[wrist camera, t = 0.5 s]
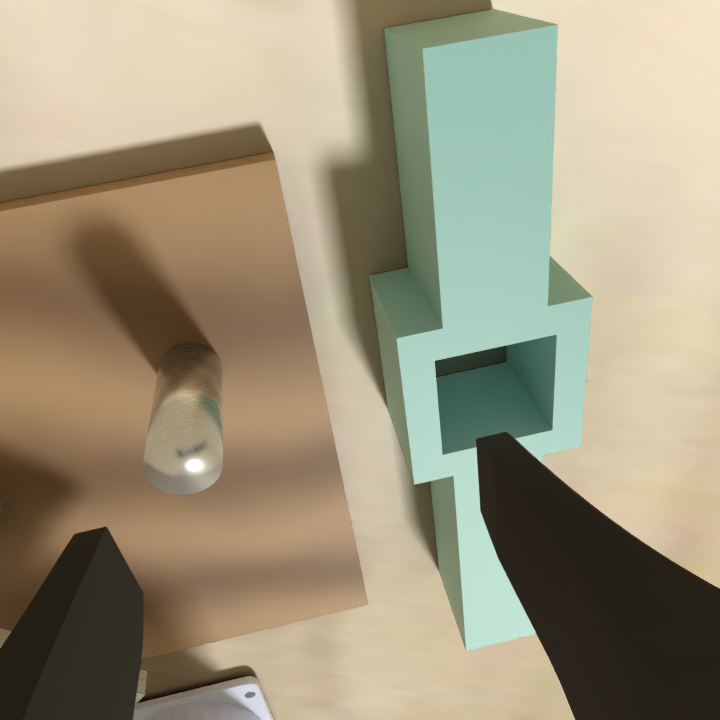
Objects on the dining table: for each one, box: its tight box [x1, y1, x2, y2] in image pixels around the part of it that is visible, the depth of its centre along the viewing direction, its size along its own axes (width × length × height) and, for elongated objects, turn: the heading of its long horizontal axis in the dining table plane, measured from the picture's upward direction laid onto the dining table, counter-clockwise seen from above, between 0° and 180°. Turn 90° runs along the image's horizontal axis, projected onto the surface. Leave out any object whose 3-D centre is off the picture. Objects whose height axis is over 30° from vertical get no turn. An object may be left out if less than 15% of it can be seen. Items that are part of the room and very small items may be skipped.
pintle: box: [143, 342, 223, 494], centre depth 19 cm, size 2×2×5 cm
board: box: [0, 152, 368, 659], centre depth 23 cm, size 20×17×1 cm
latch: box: [369, 9, 593, 651], centre depth 22 cm, size 23×6×4 cm, turn 8°
